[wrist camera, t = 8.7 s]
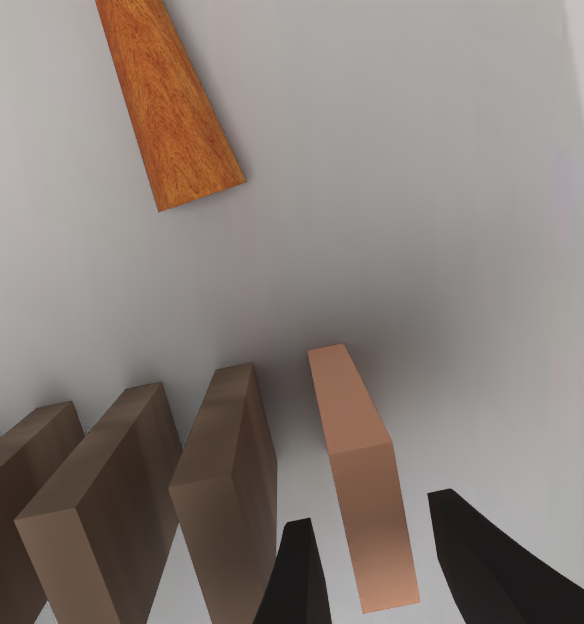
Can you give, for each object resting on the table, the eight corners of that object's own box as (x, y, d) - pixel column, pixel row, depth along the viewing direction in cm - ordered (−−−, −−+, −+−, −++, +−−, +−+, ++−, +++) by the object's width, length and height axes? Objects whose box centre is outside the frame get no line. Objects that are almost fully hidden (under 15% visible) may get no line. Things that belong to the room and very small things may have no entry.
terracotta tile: (329, 452, 19) (363, 613, 12) (307, 350, 18) (328, 454, 11) (363, 445, 19) (420, 602, 12) (343, 342, 18) (392, 441, 10)
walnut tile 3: (158, 488, 20) (78, 670, 12) (125, 389, 18) (13, 520, 11) (192, 480, 20) (134, 659, 12) (161, 381, 18) (75, 507, 11)
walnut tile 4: (243, 470, 20) (218, 642, 12) (215, 369, 18) (168, 487, 11) (277, 463, 20) (274, 631, 12) (251, 362, 18) (230, 474, 11)
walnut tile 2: (74, 505, 20) (-60, 698, 12) (36, 408, 19) (-140, 552, 11) (107, 498, 20) (-4, 687, 12) (71, 400, 19) (-78, 539, 11)
